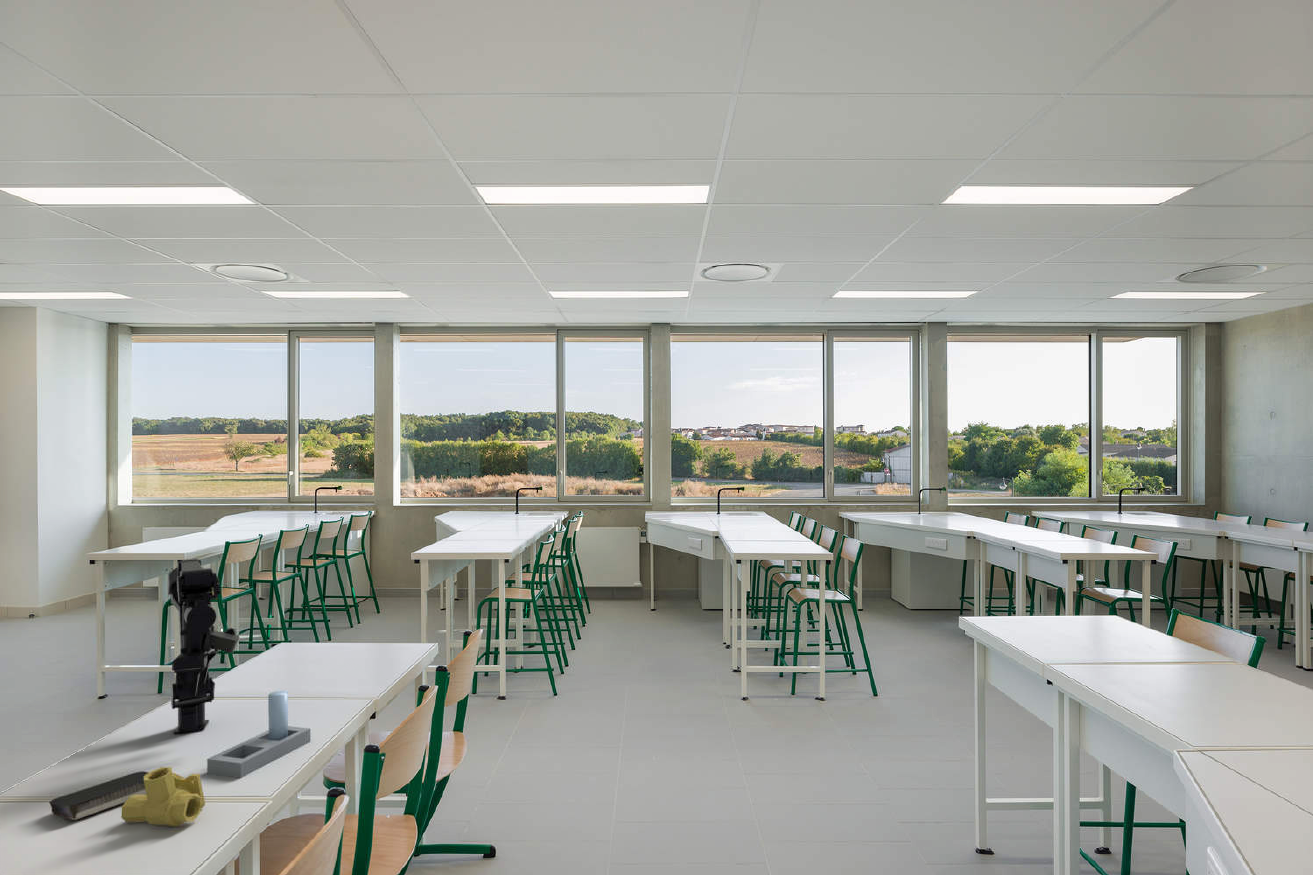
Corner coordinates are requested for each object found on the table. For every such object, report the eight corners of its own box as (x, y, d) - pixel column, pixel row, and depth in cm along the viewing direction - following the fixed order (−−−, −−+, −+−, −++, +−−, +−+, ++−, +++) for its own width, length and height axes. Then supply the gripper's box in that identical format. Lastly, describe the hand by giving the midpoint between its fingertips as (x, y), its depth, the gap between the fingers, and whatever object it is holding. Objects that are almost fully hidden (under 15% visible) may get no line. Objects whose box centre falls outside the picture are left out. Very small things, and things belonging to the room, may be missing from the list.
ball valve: (184, 836, 134) (224, 802, 144) (174, 782, 133) (215, 751, 143) (121, 836, 136) (165, 802, 146) (111, 783, 135) (155, 752, 145)
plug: (267, 747, 172) (266, 693, 173) (286, 742, 175) (285, 689, 175) (270, 752, 169) (270, 697, 169) (289, 748, 172) (289, 693, 172)
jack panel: (240, 777, 156) (240, 763, 156) (207, 772, 159) (207, 758, 159) (310, 741, 176) (310, 728, 176) (279, 737, 178) (279, 724, 178)
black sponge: (65, 828, 137) (65, 808, 137) (47, 816, 141) (47, 797, 141) (163, 793, 151) (163, 775, 151) (143, 783, 155) (143, 765, 155)
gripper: (228, 628, 168) (229, 697, 168) (242, 612, 185) (243, 675, 185) (171, 633, 164) (171, 704, 164) (191, 616, 182) (191, 680, 181)
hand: (197, 690), depth 174 cm, fingers open, 9 cm apart
